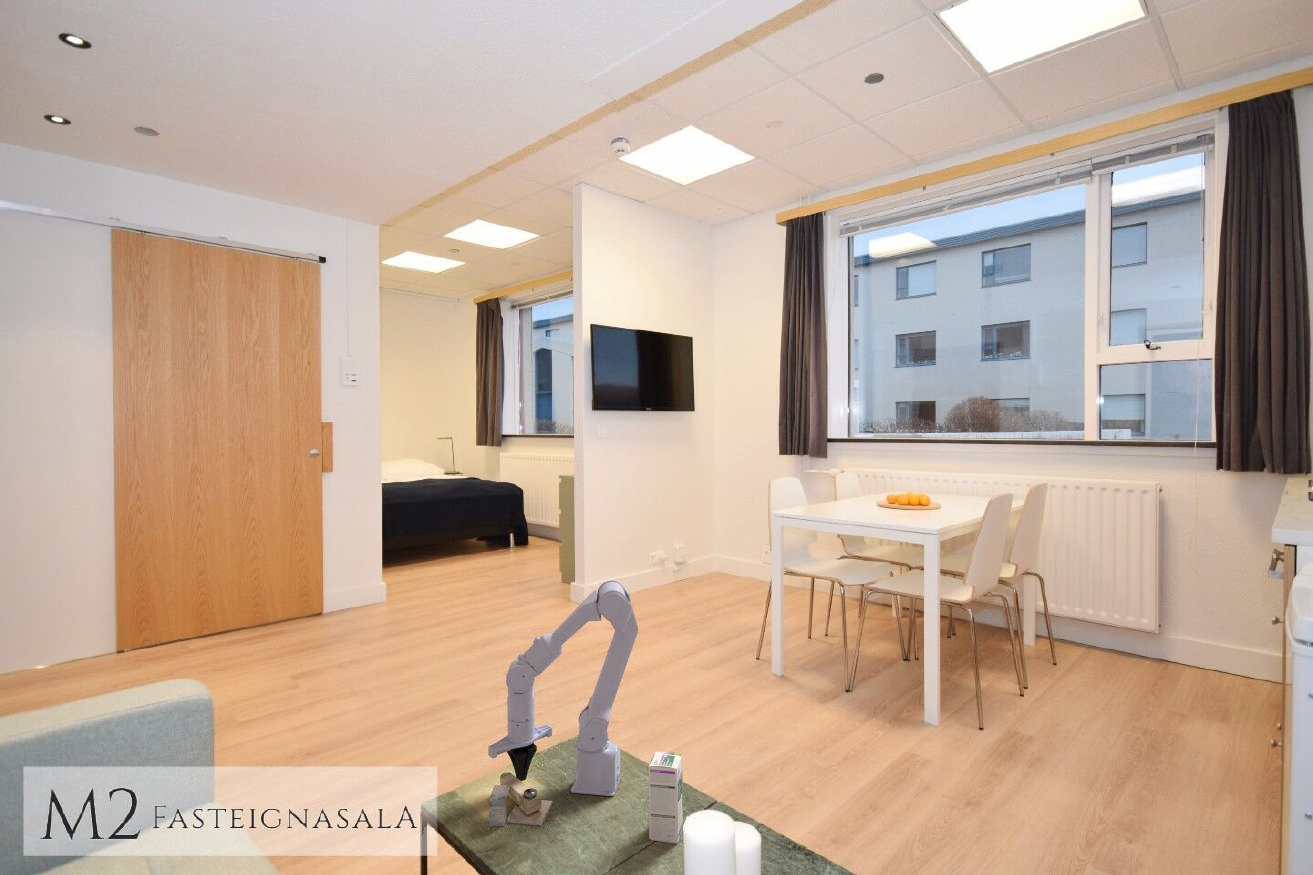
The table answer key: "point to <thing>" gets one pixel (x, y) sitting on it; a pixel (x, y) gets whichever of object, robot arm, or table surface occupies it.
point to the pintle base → (532, 818)
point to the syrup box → (665, 797)
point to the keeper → (498, 805)
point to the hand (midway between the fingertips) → (521, 778)
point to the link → (520, 793)
